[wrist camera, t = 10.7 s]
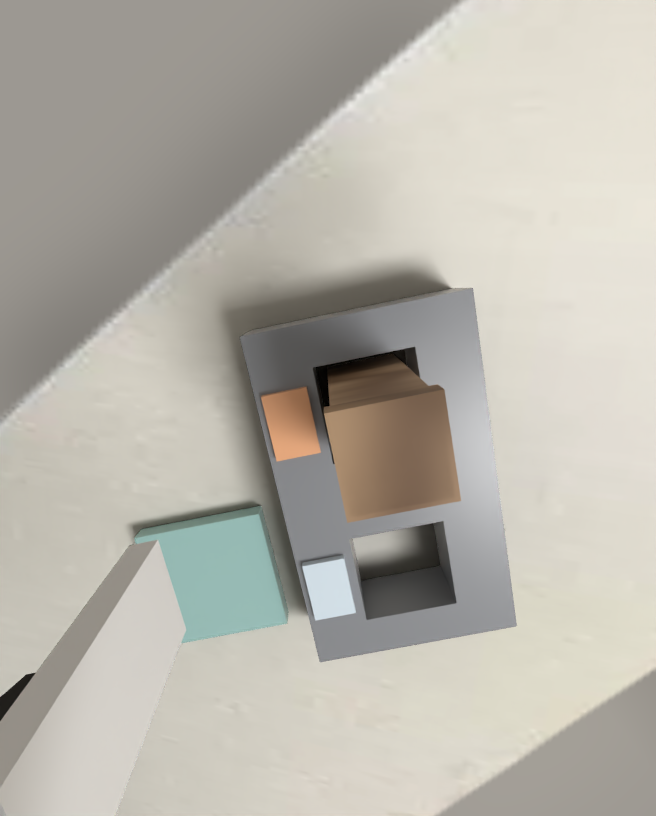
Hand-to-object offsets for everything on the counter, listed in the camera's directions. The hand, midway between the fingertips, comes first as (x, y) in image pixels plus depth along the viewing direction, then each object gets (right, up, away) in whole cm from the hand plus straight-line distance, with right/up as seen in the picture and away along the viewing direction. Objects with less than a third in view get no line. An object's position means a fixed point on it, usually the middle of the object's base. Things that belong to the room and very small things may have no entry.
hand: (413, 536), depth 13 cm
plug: (0, +4, +17) cm, 18 cm away
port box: (+1, 0, +18) cm, 18 cm away
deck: (-10, -8, +20) cm, 23 cm away
